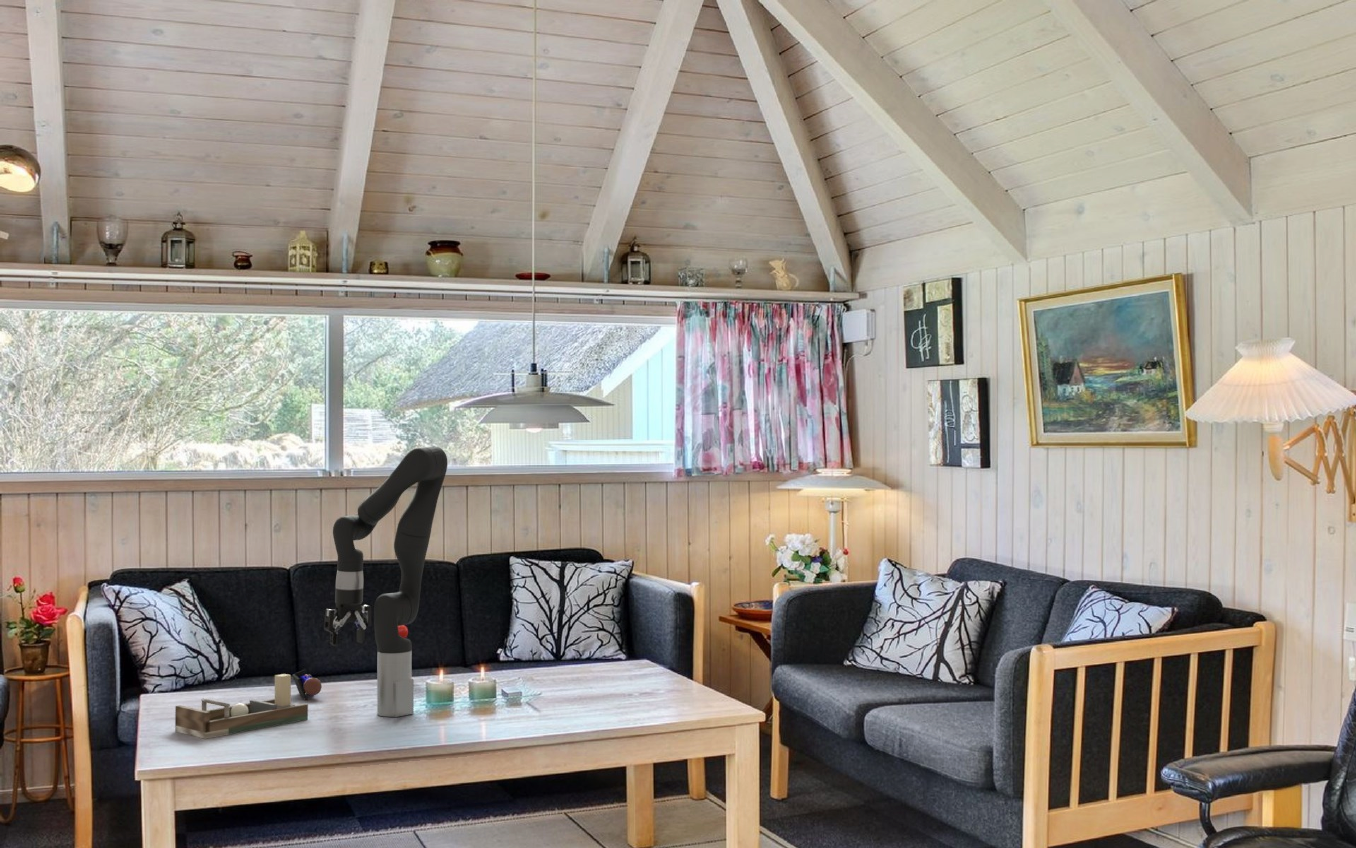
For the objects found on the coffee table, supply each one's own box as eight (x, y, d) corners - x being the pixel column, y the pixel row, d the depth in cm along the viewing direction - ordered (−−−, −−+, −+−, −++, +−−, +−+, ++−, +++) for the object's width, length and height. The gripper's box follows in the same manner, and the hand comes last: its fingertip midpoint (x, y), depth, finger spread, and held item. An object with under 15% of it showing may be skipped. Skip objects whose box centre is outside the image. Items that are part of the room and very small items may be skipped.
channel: (307, 719, 334) (307, 691, 335) (205, 738, 311) (205, 708, 311) (276, 712, 343) (277, 685, 344) (175, 731, 320) (175, 702, 320)
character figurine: (313, 693, 375) (321, 702, 361) (288, 693, 372) (296, 702, 358) (315, 667, 375) (324, 675, 362) (290, 667, 372) (298, 675, 359)
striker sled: (300, 712, 335) (301, 676, 335) (272, 717, 328) (273, 680, 328) (277, 707, 342) (277, 672, 342) (249, 712, 335) (249, 676, 335)
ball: (251, 719, 327) (251, 703, 327) (236, 722, 323) (236, 705, 323) (242, 717, 329) (242, 701, 330) (227, 720, 326) (227, 703, 326)
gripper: (336, 590, 339) (333, 649, 340) (378, 586, 350) (376, 643, 351) (319, 587, 344) (317, 645, 344) (362, 583, 355) (360, 639, 355)
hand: (347, 644), depth 347 cm, fingers open, 8 cm apart
